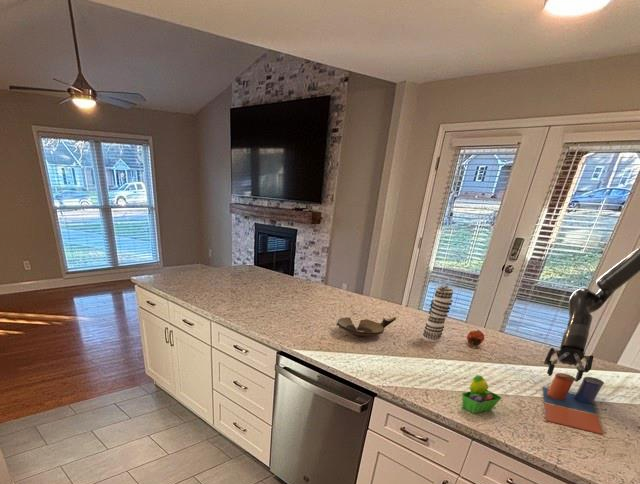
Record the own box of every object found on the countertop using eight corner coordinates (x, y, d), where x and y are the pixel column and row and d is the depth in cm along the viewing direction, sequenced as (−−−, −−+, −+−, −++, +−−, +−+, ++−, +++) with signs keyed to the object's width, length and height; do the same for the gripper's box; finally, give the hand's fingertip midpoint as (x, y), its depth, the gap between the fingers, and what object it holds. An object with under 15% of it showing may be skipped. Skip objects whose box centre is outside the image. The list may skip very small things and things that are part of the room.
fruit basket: (473, 416, 141) (485, 386, 134) (454, 404, 147) (463, 375, 141) (497, 410, 145) (509, 381, 138) (477, 399, 151) (487, 371, 145)
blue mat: (590, 398, 155) (591, 397, 155) (596, 414, 145) (596, 413, 145) (542, 388, 161) (542, 387, 161) (544, 402, 151) (544, 401, 151)
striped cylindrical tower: (444, 341, 201) (460, 289, 187) (427, 342, 199) (442, 289, 186) (435, 335, 208) (449, 284, 195) (418, 335, 207) (431, 284, 193)
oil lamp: (333, 324, 216) (335, 310, 212) (391, 328, 214) (394, 314, 210) (335, 339, 197) (338, 324, 193) (399, 344, 195) (403, 328, 191)
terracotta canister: (564, 394, 156) (574, 375, 152) (566, 401, 152) (576, 381, 147) (545, 390, 159) (555, 371, 154) (546, 397, 154) (556, 377, 150)
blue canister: (592, 398, 154) (602, 379, 150) (594, 405, 150) (605, 385, 145) (572, 394, 157) (582, 375, 152) (574, 401, 152) (584, 381, 148)
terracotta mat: (596, 416, 144) (597, 415, 144) (602, 434, 134) (603, 433, 134) (544, 403, 150) (544, 403, 150) (546, 421, 140) (546, 420, 140)
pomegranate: (479, 352, 197) (488, 336, 198) (477, 342, 191) (487, 326, 193) (463, 349, 201) (473, 333, 203) (461, 339, 196) (471, 323, 198)
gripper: (556, 330, 154) (544, 369, 152) (602, 338, 149) (590, 378, 147) (549, 339, 161) (538, 377, 159) (592, 347, 156) (581, 386, 153)
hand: (563, 377), depth 153 cm, fingers open, 8 cm apart
